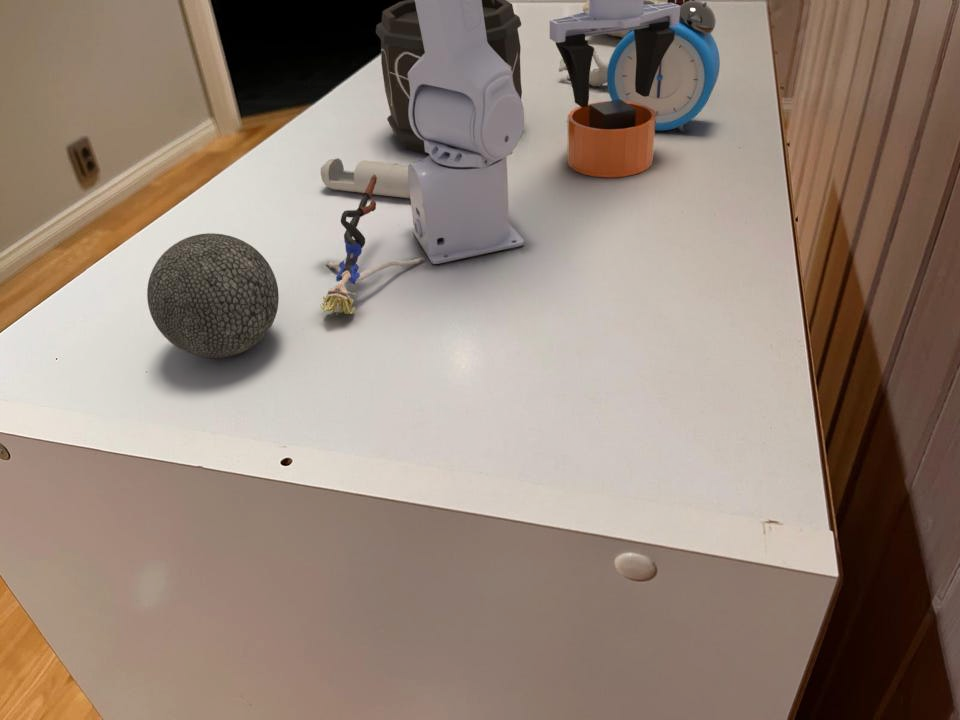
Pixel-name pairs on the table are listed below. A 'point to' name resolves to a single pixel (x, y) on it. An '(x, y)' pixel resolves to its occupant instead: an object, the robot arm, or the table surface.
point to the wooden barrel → (407, 48)
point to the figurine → (354, 256)
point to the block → (612, 115)
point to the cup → (611, 144)
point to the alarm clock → (672, 69)
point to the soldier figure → (597, 75)
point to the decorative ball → (212, 295)
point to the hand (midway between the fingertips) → (612, 99)
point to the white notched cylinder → (367, 177)
